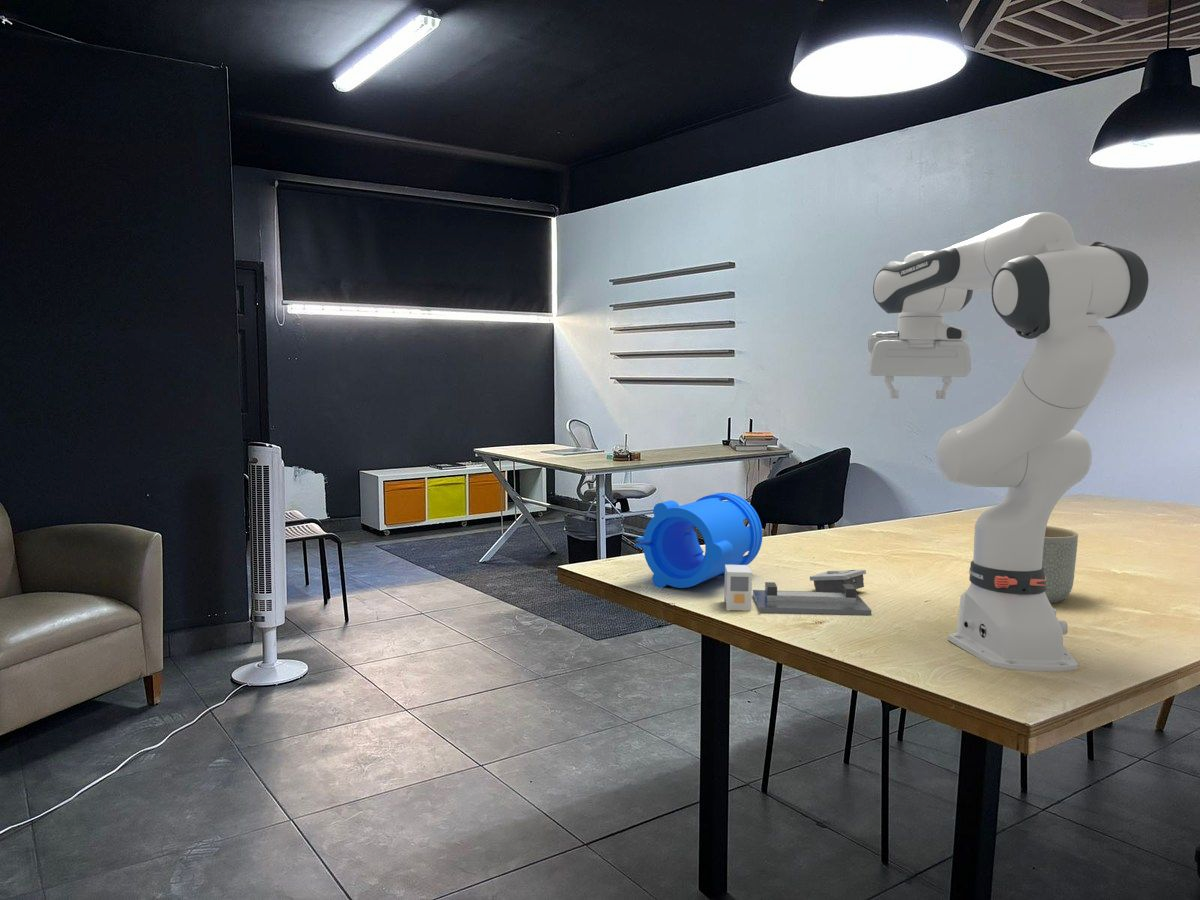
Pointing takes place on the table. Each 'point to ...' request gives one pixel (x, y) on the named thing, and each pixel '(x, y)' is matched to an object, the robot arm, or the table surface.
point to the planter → (1059, 562)
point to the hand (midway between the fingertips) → (917, 398)
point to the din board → (810, 601)
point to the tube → (679, 549)
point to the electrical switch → (837, 580)
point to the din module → (738, 587)
